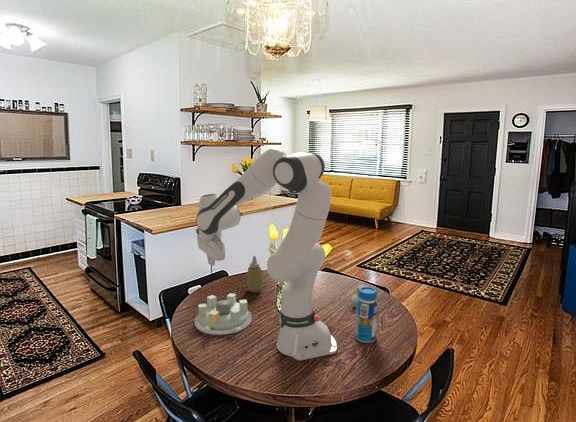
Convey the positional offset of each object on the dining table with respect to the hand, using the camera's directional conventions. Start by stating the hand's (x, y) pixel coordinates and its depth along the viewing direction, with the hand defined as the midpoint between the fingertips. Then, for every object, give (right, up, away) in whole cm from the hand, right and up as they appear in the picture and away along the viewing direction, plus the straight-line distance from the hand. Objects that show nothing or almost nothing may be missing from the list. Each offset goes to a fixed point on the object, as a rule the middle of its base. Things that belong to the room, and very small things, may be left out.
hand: (211, 264), depth 153 cm
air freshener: (+66, -22, +16) cm, 72 cm away
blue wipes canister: (+62, -27, -10) cm, 69 cm away
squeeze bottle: (+15, -18, +33) cm, 40 cm away
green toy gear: (+5, -22, +2) cm, 23 cm away
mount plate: (+5, -24, +2) cm, 24 cm away
